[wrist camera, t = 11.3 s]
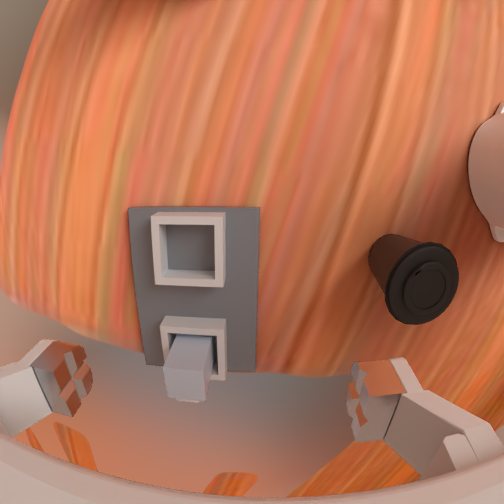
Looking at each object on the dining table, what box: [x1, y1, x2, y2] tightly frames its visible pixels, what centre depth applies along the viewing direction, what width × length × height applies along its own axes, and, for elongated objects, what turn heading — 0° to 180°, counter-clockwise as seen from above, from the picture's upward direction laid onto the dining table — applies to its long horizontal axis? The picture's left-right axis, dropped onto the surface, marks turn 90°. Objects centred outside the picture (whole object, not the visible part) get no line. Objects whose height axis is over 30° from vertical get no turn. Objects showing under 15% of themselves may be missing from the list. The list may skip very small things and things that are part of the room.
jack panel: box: [128, 206, 260, 381], centre depth 34 cm, size 14×20×4 cm
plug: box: [163, 333, 215, 403], centre depth 33 cm, size 4×5×8 cm
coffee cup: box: [368, 234, 459, 325], centre depth 30 cm, size 8×8×10 cm
